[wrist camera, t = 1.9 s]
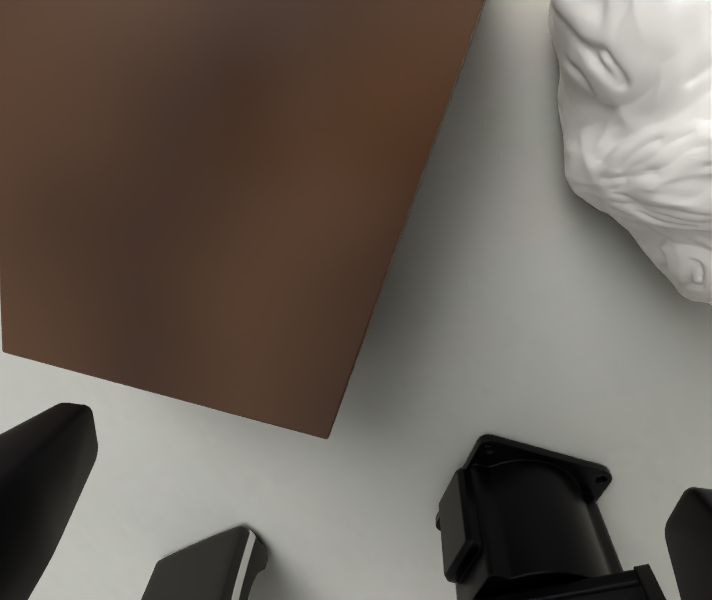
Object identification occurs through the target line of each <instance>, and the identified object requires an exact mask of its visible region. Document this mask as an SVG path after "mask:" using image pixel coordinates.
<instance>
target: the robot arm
mask: <svg viewBox="0 0 712 600" xmlns="http://www.w3.org/2000/svg"><path fill="white" fill-rule="evenodd" d="M486 445H492V446H489V447H486ZM97 452H98V443H97V436H96V430H95V424H94V418H93V413H92V410H91V409H90V407H88V406H86V405H80V404H73V403H60V404H57V405H55V406H53V407H51V408H49V409H48V410H46V411H44V412H42V413H40V414H38V415H36V416H34V417H32V418H31V419H29V420H27V421H25V422H23V423H21V424H19V425H17V426H15V427H14V428H12V429H10V430H8V431H6V432H4V433H2V434H0V600H28V598H29V597H30V595H31V593H32V591H33V590H34V588H35V586H36V584H37V583H38V581H39V579H40V578H41V576H42V574H43V572H44V570H45V569H46V567H47V565H48V563H49V561H50V560H51V558H52V556H53V554H54V552H55V549H56V547H57V545H58V543H59V541H60V539H61V537H62V534H63V532H64V530H65V528H66V526H67V523H68V521H69V519H70V517H71V514H72V512H73V510H74V508H75V505H76V503H77V501H78V499H79V496H80V494H81V492H82V490H83V488H84V485H85V483H86V481H87V479H88V476H89V474H90V472H91V470H92V467H93V465H94V463H95V460H96V457H97ZM600 475H602V476H600ZM597 476H599V477H597ZM611 480H612V476H611V474H610V471H609V469H608V468H607V467H605V466H603V465H599V464H596V463H592V462H589V461H585V460H581V459H578V458H574V457H571V456H567V455H563V454H560V453H556V452H552V451H549V450H545V449H542V448H538V447H534V446H531V445H527V444H524V443H520V442H516V441H513V440H509V439H505V438H502V437H498V436H495V435H489V434H487V435H483V436H481V437H480V438H479V439H478V440H477V442H476V444H475V446H474V448H473V449H472V451H471V453H470V455H469V457H468V459H467V460H466V462H465V464H464V466H463V468H460V469H459V470H457V471H456V473H455V474H454V476H453V478H452V480H451V482H450V484H449V486H448V487H447V489H446V491H445V493H444V495H443V497H442V499H441V500H440V502H439V512H438V514H437V516H436V527H437V529H438V530H440V531H441V539H442V552H443V565H444V575H445V577H446V579H447V580H448V581H449V582H453V583H455V584H456V594H457V600H666V598H665V596H664V594H663V592H662V590H661V588H660V586H659V584H658V582H657V580H656V578H655V576H654V574H653V572H652V570H651V568H650V566H649V564H646V565H640V566H635V567H634V570H628V571H623V569H622V567H621V564H620V561H619V559H618V556H617V554H616V551H615V549H614V546H613V544H612V541H611V539H610V536H609V533H608V531H607V528H606V526H605V523H604V521H603V518H602V516H601V513H600V510H599V508H598V505H597V503H596V501H597V500H598V498H599V497H600V496H601V494H602V493H603V492H604V490H605V489H606V488H607V486H608V485H609V484H610V482H611ZM665 539H666V543H667V547H668V551H669V555H670V559H671V563H672V566H673V570H674V574H675V578H676V582H677V586H678V589H679V593H680V597H681V600H712V489H704V488H697V487H691V488H688V489H687V490H685V491H684V493H683V494H682V496H681V498H680V500H679V501H678V503H677V505H676V507H675V508H674V510H673V512H672V514H671V515H670V517H669V519H668V521H667V523H666V527H665Z"/></svg>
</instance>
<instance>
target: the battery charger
mask: <svg viewBox="0 0 712 600" xmlns="http://www.w3.org/2000/svg"><path fill="white" fill-rule="evenodd" d="M255 537H256V536H255V534H254V533H253V532H252V531H251V530H247V529H246V528H245V527H243V526H239V527H236V528H234V529H231V530H228V531H225V532H223V533H220V534H218V535H215V536H213V537H210V538H208V539H206V540H203V541H201V542H198V543H196V544H194V545H192V546H189V547H187V548H185V549H183V550H181V551H178V552H176V553H174V554H172V555H170V556H168V557H166V558H164V559H161V560H159V561H158V562H157V564H156V566H155V568H154V571H153V573H152V575H151V578H150V580H149V583H148V585H147V587H146V590H145V592H144V594H143V597H142V599H141V600H247V599H248V596H249V592H250V589H251V586H252V583H253V581H254V579H255V577H256V575H257V574H258V572H260V571H262V570H264V569H265V567H266V565H267V561H268V553H267V551H266V549H265V548H264V546H263V545H262V543H261V542H260V541H259V540H258V539H256V538H255Z"/></svg>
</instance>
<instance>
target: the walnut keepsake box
mask: <svg viewBox="0 0 712 600" xmlns="http://www.w3.org/2000/svg"><path fill="white" fill-rule="evenodd" d="M485 1H486V0H0V300H1V325H2V350H3V352H5V353H8V354H12V355H16V356H19V357H23V358H27V359H30V360H34V361H38V362H42V363H45V364H49V365H53V366H56V367H60V368H64V369H68V370H71V371H75V372H79V373H82V374H86V375H90V376H93V377H97V378H101V379H105V380H108V381H112V382H116V383H119V384H123V385H127V386H131V387H134V388H138V389H142V390H145V391H149V392H153V393H157V394H160V395H164V396H168V397H171V398H175V399H179V400H183V401H186V402H190V403H194V404H197V405H201V406H205V407H209V408H212V409H216V410H220V411H223V412H227V413H231V414H235V415H238V416H242V417H246V418H249V419H253V420H257V421H261V422H264V423H268V424H272V425H275V426H279V427H283V428H286V429H290V430H294V431H298V432H301V433H305V434H309V435H312V436H316V437H320V438H324V439H328V438H329V436H330V433H331V430H332V427H333V425H334V422H335V419H336V416H337V413H338V411H339V408H340V405H341V402H342V399H343V397H344V394H345V391H346V388H347V385H348V383H349V380H350V377H351V374H352V372H353V369H354V366H355V363H356V360H357V358H358V355H359V352H360V349H361V346H362V344H363V341H364V338H365V335H366V332H367V330H368V327H369V324H370V321H371V319H372V316H373V313H374V310H375V307H376V305H377V302H378V299H379V296H380V293H381V291H382V288H383V285H384V282H385V280H386V277H387V274H388V271H389V268H390V266H391V263H392V260H393V257H394V254H395V252H396V249H397V246H398V243H399V240H400V238H401V235H402V232H403V229H404V227H405V224H406V221H407V218H408V215H409V213H410V210H411V207H412V204H413V201H414V199H415V196H416V193H417V190H418V187H419V185H420V182H421V179H422V176H423V174H424V171H425V168H426V165H427V162H428V160H429V157H430V154H431V151H432V148H433V146H434V143H435V140H436V137H437V134H438V132H439V129H440V126H441V123H442V121H443V118H444V115H445V112H446V109H447V107H448V104H449V101H450V98H451V95H452V93H453V90H454V87H455V84H456V82H457V79H458V76H459V73H460V70H461V68H462V65H463V62H464V59H465V56H466V54H467V51H468V48H469V45H470V42H471V40H472V37H473V34H474V31H475V29H476V26H477V23H478V20H479V17H480V15H481V12H482V9H483V6H484V3H485Z"/></svg>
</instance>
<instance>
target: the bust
mask: <svg viewBox="0 0 712 600" xmlns="http://www.w3.org/2000/svg"><path fill="white" fill-rule="evenodd" d="M549 31H550V36H551V39H552V43H553V46H554V49H555V51H556V54H557V58H558V62H559V69H560V79H559V86H558V94H557V105H558V111H559V115H560V121H561V127H562V132H563V136H564V160H565V177H566V179H567V180H568V183H569V185H570V187H571V189H572V191H573V192H574V193H575V194H576V195H578V196H579V197H581V198H582V199H584V200H585V201H586V202H588V203H589V204H591V205H592V206H593V207H595V208H596V209H597V210H600V211H602V212H605V213H608V214H609V215H610V216H611V217H613V218H614V219H615V220H616V221H617V222H618V223H619V224H620V225H622V226H623V227H625V228H626V229H627V230H628V231H629V232H630V234H631V235H632V236H633V237H634V239H635V240H636V242H637V243H638V244H639V246H640V247H641V249H642V250H643V251H644V253H645V254H646V255H647V256H648V257H649V258H650V260H651V261H652V262H653V263H654V265H655V266H656V267H657V268H658V269H659V270H660V271H661V272H662V273H663V274H664V275H665V277H666V278H667V279H668V280H669V281H671V282H672V283H673V285H674V287H675V288H676V290H677V291H678V292H679V293H680V294H681V295H682V296H683V297H685V298H687V299H688V300H691V301H695V302H697V301H700V302H705V303H708V304H710V305H712V0H551V2H550V9H549Z"/></svg>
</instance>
